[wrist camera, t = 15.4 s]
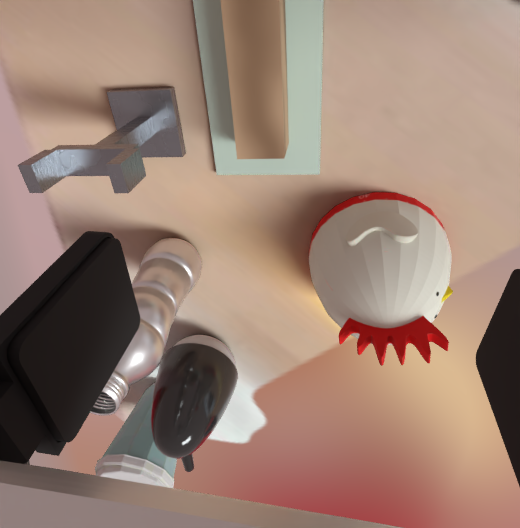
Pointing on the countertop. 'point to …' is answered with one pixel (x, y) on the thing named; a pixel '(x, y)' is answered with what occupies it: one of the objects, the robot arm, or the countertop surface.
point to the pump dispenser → (191, 395)
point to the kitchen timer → (383, 272)
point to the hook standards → (116, 143)
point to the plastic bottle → (152, 315)
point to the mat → (298, 84)
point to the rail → (257, 76)
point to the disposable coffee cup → (137, 450)
